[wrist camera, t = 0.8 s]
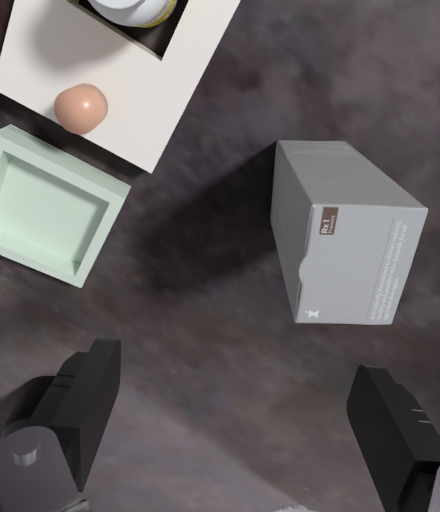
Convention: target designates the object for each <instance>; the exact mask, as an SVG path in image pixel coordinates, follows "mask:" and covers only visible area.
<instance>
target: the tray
mask: <svg viewBox="0 0 440 512" xmlns="http://www.w3.org/2000/svg"><path fill="white" fill-rule="evenodd" d="M130 188H131V186H130V185H128V184H126V183H124V182H122V181H120V180H118V179H116V178H114V177H112V176H110V175H108V174H107V173H105V172H103V171H101V170H99V169H97V168H95V167H93V166H91V165H89V164H87V163H85V162H83V161H81V160H79V159H77V158H75V157H73V156H72V155H70V154H68V153H66V152H64V151H62V150H60V149H58V148H56V147H54V146H52V145H50V144H48V143H46V142H44V141H42V140H40V139H39V138H37V137H35V136H33V135H31V134H29V133H27V132H25V131H23V130H21V129H19V128H17V127H15V126H13V125H11V124H10V125H8V126H6V127H4V128H2V129H0V255H2V256H4V257H6V258H9V259H11V260H14V261H16V262H19V263H21V264H23V265H26V266H28V267H31V268H33V269H36V270H38V271H41V272H43V273H45V274H48V275H50V276H53V277H55V278H58V279H60V280H62V281H65V282H67V283H70V284H72V285H75V286H77V287H79V288H82V286H83V284H84V282H85V280H86V278H87V275H88V273H89V271H90V269H91V267H92V265H93V263H94V261H95V259H96V257H97V255H98V253H99V251H100V249H101V247H102V245H103V243H104V241H105V239H106V237H107V235H108V233H109V231H110V229H111V227H112V225H113V223H114V221H115V219H116V217H117V215H118V213H119V211H120V209H121V207H122V205H123V203H124V201H125V199H126V196H127V194H128V192H129V190H130Z"/></svg>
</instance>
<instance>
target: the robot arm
mask: <svg viewBox="0 0 440 512" xmlns="http://www.w3.org/2000/svg"><path fill="white" fill-rule="evenodd" d="M120 364H121V342H120V340H116V339H106V338H96V339H95V341H94V343H93V345H92V346H91V348H90V350H89V352H88V353H85V352H76V353H75V354H74V355H73V356H71V357H70V358H69V359H67V360H66V361H65V362H64V363H63V365H62V366H61V368H60V370H59V371H58V373H57V376H55V378H54V380H53V381H52V383H51V386H50V387H49V388H48V389H47V391H46V393H45V394H44V396H43V398H42V399H41V401H40V403H39V404H38V406H37V408H36V409H35V411H34V412H33V414H32V416H31V417H30V419H29V421H28V422H27V424H26V426H25V427H24V428H23V429H20V430H17V431H15V432H13V433H12V434H10V435H9V436H7V437H6V438H5V439H4V440H3V441H1V443H0V512H93V511H92V509H91V507H90V505H89V503H88V501H87V500H83V501H82V499H81V497H80V495H79V493H78V492H83V489H84V486H85V484H86V481H87V478H88V475H89V472H90V470H91V467H92V464H93V461H94V458H95V456H96V453H97V450H98V447H99V445H100V442H101V439H102V436H103V433H104V431H105V428H106V425H107V422H108V419H109V417H110V414H111V411H112V408H113V406H114V403H115V400H116V397H117V394H118V390H119V384H120ZM347 415H348V419H349V422H350V424H351V427H352V429H353V432H354V434H355V437H356V439H357V442H358V444H359V447H360V449H361V452H362V454H363V457H364V459H365V462H366V464H367V467H368V469H369V472H370V474H371V477H372V479H373V482H374V485H375V487H376V490H377V492H378V495H379V497H380V500H381V502H382V505H383V507H384V510H385V512H440V435H439V434H438V432H437V431H436V429H435V428H434V426H433V425H432V424H430V420H429V418H428V417H427V415H426V414H425V413H424V412H423V409H422V408H421V406H420V405H419V403H418V402H417V400H416V398H415V397H414V396H413V395H412V394H411V393H410V392H409V391H408V390H406V389H405V388H404V387H403V386H402V385H401V384H395V382H394V380H393V379H392V377H391V375H390V374H389V372H388V371H387V369H386V368H385V367H379V366H369V365H360V366H359V367H358V369H357V372H356V375H355V378H354V381H353V384H352V388H351V391H350V394H349V397H348V400H347Z"/></svg>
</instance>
